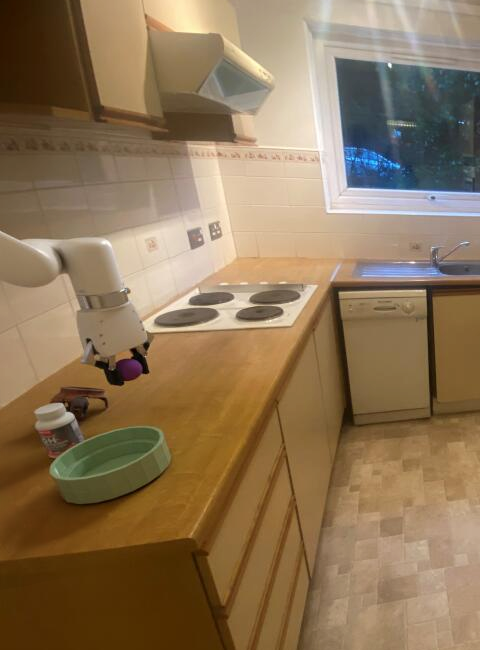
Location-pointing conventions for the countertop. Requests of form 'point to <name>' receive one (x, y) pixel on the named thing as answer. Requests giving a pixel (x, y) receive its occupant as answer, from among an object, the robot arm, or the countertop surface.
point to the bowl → (110, 464)
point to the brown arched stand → (78, 399)
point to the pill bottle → (57, 429)
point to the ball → (129, 369)
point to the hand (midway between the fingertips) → (130, 378)
